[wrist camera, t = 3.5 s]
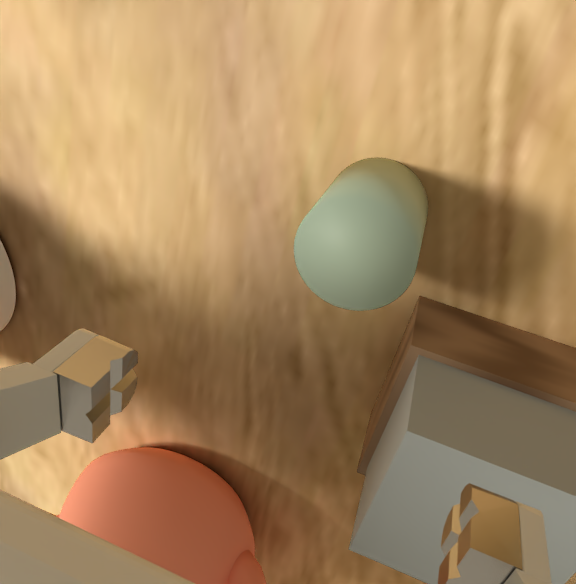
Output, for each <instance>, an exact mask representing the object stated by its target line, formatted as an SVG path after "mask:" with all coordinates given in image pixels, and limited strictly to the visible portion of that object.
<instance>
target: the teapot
mask: <svg viewBox="0 0 576 584" xmlns="http://www.w3.org/2000/svg"><path fill="white" fill-rule="evenodd" d="M56 517H58V518H60V519H62V520H65V521H67V522H69V523H71V524H73V525H75V526H77V527H79V528H81V529H83V530H85V531H87V532H89V533H92V534H94V535H96V536H98V537H100V538H102V539H104V540H106V541H108V542H110V543H112V544H114V545H116V546H118V547H121V548H123V549H125V550H127V551H129V552H131V553H133V554H135V555H137V556H139V557H141V558H143V559H145V560H148V561H150V562H152V563H154V564H156V565H158V566H160V567H162V568H164V569H166V570H168V571H170V572H172V573H174V574H177V575H179V576H181V577H183V578H185V579H187V580H189V581H191V582H193V583H195V584H266V580H265V577H264V574H263V571H262V568H261V566H260V564H259V563H258V562H257V560H256V559H255V542H254V537H253V533H252V529H251V525H250V522H249V519H248V516H247V514H246V511H245V509H244V506H243V504H242V502H241V500H240V498H239V497H238V495H237V494H236V492H235V491H234V490H233V489H232V487H231V486H230V485H229V484H228V483H227V482H226V481H225V480H224V479H222V478H221V477H220V476H219V475H218V474H216V473H215V472H214V471H212V470H211V469H209V468H208V467H206V466H204V465H203V464H201V463H199V462H197V461H195V460H193V459H191V458H189V457H187V456H184V455H182V454H179V453H176V452H173V451H170V450H165V449H160V448H152V447H141V448H131V449H124V450H119V451H114V452H111V453H107V454H104V455H102V456H100V457H98V458H97V459H95V460H93V461H92V462H91V463H90V464H89V465H87V467H86V468H85V469H84V471H83V472H82V473H81V474H80V476H79V477H78V479H77V480H76V482H75V483H74V485H73V487H72V489H71V490H70V492H69V494H68V496H67V498H66V500H65V502H64V504H63V507H62V510H61V513H60V514H59V515H57V516H56Z"/></svg>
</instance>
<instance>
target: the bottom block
mask: <svg viewBox="0 0 576 584" xmlns="http://www.w3.org/2000/svg"><path fill="white" fill-rule="evenodd" d="M418 355H421V356H424V357H426V358H429V359H432V360H435V361H437V362H440V363H443V364H446V365H448V366H451V367H454V368H457V369H459V370H462V371H465V372H468V373H470V374H473V375H476V376H479V377H481V378H484V379H487V380H490V381H492V382H495V383H498V384H501V385H503V386H506V387H509V388H512V389H514V390H517V391H520V392H523V393H525V394H528V395H531V396H534V397H536V398H539V399H542V400H545V401H547V402H550V403H553V404H556V405H558V406H561V407H564V408H567V409H569V410H572V411H575V412H576V348H573V347H570V346H567V345H564V344H561V343H558V342H555V341H552V340H549V339H546V338H543V337H541V336H538V335H535V334H532V333H529V332H526V331H523V330H520V329H517V328H514V327H511V326H508V325H505V324H502V323H499V322H496V321H493V320H490V319H487V318H484V317H481V316H478V315H475V314H472V313H469V312H466V311H463V310H460V309H457V308H454V307H451V306H448V305H445V304H442V303H439V302H436V301H434V300H431V299H428V298H425V297H422V296H419V299H418V301H417V304H416V306H415V308H414V311H413V313H412V316H411V318H410V321H409V323H408V325H407V328H406V330H405V333H404V335H403V338H402V340H401V343H400V345H399V347H398V350H397V352H396V355H395V357H394V360H393V362H392V364H391V367H390V369H389V372H388V374H387V377H386V379H385V381H384V384H383V386H382V389H381V391H380V394H379V396H378V398H377V401H376V403H375V406H374V408H373V411H372V413H371V416H370V420H369V424H368V428H367V433H366V437H365V441H364V445H363V449H362V453H361V457H360V461H359V465H358V469H357V472H358V473H360V474H363V475H366V471H367V467H368V465H369V462H370V460H371V458H372V456H373V454H374V452H375V449H376V447H377V445H378V443H379V441H380V438H381V436H382V434H383V432H384V430H385V427H386V425H387V423H388V421H389V419H390V416H391V414H392V412H393V410H394V408H395V406H396V403H397V401H398V399H399V397H400V395H401V392H402V390H403V388H404V386H405V384H406V381H407V379H408V377H409V375H410V373H411V371H412V368H413V366H414V364H415V362H416V360H417V357H418Z"/></svg>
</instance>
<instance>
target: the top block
mask: <svg viewBox="0 0 576 584" xmlns="http://www.w3.org/2000/svg"><path fill="white" fill-rule="evenodd" d="M469 483H470V484H473V485H476V486H478V487H481V488H483V489H486V490H488V491H491V492H494V493H496V494H499V495H501V496H504V497H506V498H509V499H512V500H514V501H515V502H516V501H517V502H519V503H522V504H524V505H527V506H530V507H532V508H535V509H537V510H540V511H541V513H542V514H543V518H544V526H545V534H546V542H547V550H548V558H549V567H550V575H551V583H552V584H565V583H566V582H567V581H568V580H569V579H570V578H571V577H572V575H573V574H574V573H575V572H576V412H575V411H572V410H569V409H567V408H564V407H561V406H558V405H556V404H553V403H550V402H547V401H545V400H542V399H539V398H536V397H534V396H531V395H528V394H525V393H523V392H520V391H517V390H514V389H512V388H509V387H506V386H503V385H501V384H498V383H495V382H492V381H490V380H487V379H484V378H481V377H479V376H476V375H473V374H470V373H468V372H465V371H462V370H459V369H457V368H454V367H451V366H448V365H446V364H443V363H440V362H437V361H435V360H432V359H429V358H426V357H424V356H421V355H418V357H417V360H416V362H415V364H414V366H413V368H412V371H411V373H410V375H409V377H408V379H407V381H406V384H405V386H404V388H403V390H402V392H401V395H400V397H399V399H398V401H397V403H396V406H395V408H394V410H393V412H392V414H391V416H390V419H389V421H388V423H387V425H386V427H385V430H384V432H383V434H382V436H381V438H380V441H379V443H378V445H377V447H376V449H375V452H374V454H373V456H372V458H371V460H370V462H369V465H368V467H367V471H366V475H365V480H364V484H363V488H362V493H361V497H360V502H359V506H358V510H357V515H356V519H355V523H354V528H353V532H352V537H351V541H350V545H349V550H351V551H353V552H356V553H358V554H360V555H363V556H365V557H367V558H370V559H372V560H374V561H376V562H379V563H381V564H383V565H386V566H388V567H390V568H393V569H395V570H397V571H400V572H402V573H404V574H406V575H409V576H411V577H413V578H416V579H418V580H420V581H423V582H425V583H427V584H438V575H439V566H440V565H441V563H442V562H443V560H444V558H445V555H444V553H443V551H442V549H441V540H442V533H443V528H444V525H445V522H446V519H447V516H448V514H449V512H450V511H451V509H452V507H453V506H454V505H457V504H460V497H461V492H462V491H463V489H464V487H465V486H466V485H467V484H469Z"/></svg>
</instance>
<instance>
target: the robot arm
mask: <svg viewBox="0 0 576 584" xmlns="http://www.w3.org/2000/svg"><path fill="white" fill-rule="evenodd" d="M15 301H16V289H15V280H14V275H13V271H12V267H11V264H10V261H9V258H8V256H7V253H6V251H5V249H4V246H3V244H2V242H1V240H0V331H1V330H3V329H4V328H5V327H6V325H7V324H8V323H9V321H10V319H11V317H12V315H13V312H14V308H15ZM137 363H138V352H137V351H135V350H134V349H132V348H129V347H127V346H125V345H122V344H120V343H118V342H115V341H113V340H111V339H108V338H106V337H104V336H101V335H98V334H96V333H93V332H91V331H89V330H86V329H84V328H82V329H78V330H76V331H74V332H73V333H72V334H71V335H69V336H68V337H67V338H65V339H64V340H63V341H62V342H60V343H59V344H58V345H56V346H55V347H54V348H53V349H51V350H50V351H49V352H47V353H46V354H45V355H44V356H42V357H41V358H40V359H38V360H37V361H36V362H35V363H33V364H31V363H29V362H25V363H21V364H17V365H13V366H9V367H5V368H1V369H0V460H1V459H3V458H5V457H7V456H10V455H12V454H14V453H16V452H18V451H21V450H23V449H25V448H27V447H30V446H32V445H34V444H36V443H39V442H41V441H43V440H45V439H48V438H50V437H52V436H54V435H57V434H59V433H61V431H64V432H66V433H69V434H71V435H73V436H76V437H78V438H81V439H83V440H86V441H88V442H91V443H93V442H94V441H95V440H96V439H97V438H98V437H99V436H100V435H101V433H102V432H103V431H104V430H105V429H106V428H107V427H108V426H109V425H110V415H113V414H116V413H119V412H121V411H122V410H123V409H124V408H125V407H126V406H127V405H128V403H129V402H130V400H131V398H132V396H133V394H134V392H135V388H136V385H137V375H136V373H135V372H134V370H133V367H134V366H135V365H136V364H137ZM441 549H442V551H443V553H444V555H445V558H444V560H443V562H442V563H441V565H440V566H439V575H438V584H552V583H551V575H550V567H549V558H548V550H547V542H546V534H545V526H544V518H543V514H542V513H541V511H540V510H537V509H535V508H532V507H530V506H527V505H524V504H522V503H519V502H517V501H516V502H515V501H514V500H512V499H509V498H506V497H504V496H501V495H499V494H496V493H494V492H491V491H488V490H486V489H483V488H481V487H478V486H476V485H473V484H470V483H469V484H467V485H466V486H465V487H464V489H463V491H462V492H461V497H460V504H457V505H454V506H453V507H452V509H451V511H450V512H449V514H448V516H447V519H446V522H445V525H444V528H443V533H442V540H441ZM0 584H195V583H193V582H191V581H189V580H187V579H185V578H183V577H181V576H179V575H177V574H174V573H172V572H170V571H168V570H166V569H164V568H162V567H160V566H158V565H156V564H154V563H152V562H150V561H148V560H145V559H143V558H141V557H139V556H137V555H135V554H133V553H131V552H129V551H127V550H125V549H123V548H121V547H118V546H116V545H114V544H112V543H110V542H108V541H106V540H104V539H102V538H100V537H98V536H96V535H94V534H92V533H89V532H87V531H85V530H83V529H81V528H79V527H77V526H75V525H73V524H71V523H69V522H67V521H65V520H62V519H60V518H58V517H56V516H54V515H52V514H50V513H48V512H46V511H44V510H42V509H40V508H38V507H35V506H33V505H31V504H29V503H27V502H25V501H23V500H21V499H19V498H17V497H15V496H13V495H11V494H8V493H6V492H4V491H2V490H0Z"/></svg>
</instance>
